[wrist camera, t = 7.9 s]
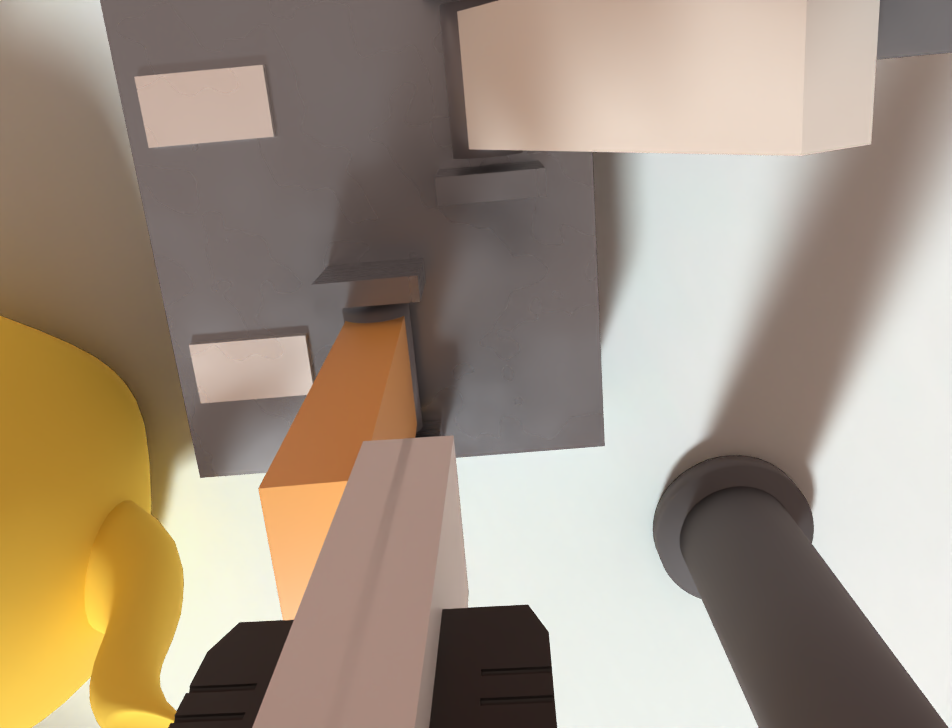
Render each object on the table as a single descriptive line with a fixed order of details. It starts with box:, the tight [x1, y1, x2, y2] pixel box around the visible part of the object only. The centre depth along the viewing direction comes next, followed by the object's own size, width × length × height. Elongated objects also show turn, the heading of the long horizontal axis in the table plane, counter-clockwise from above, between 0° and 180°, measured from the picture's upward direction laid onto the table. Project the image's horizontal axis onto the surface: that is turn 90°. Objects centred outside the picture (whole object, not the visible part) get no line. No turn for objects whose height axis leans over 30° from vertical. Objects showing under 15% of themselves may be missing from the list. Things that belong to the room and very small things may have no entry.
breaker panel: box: [100, 0, 605, 478], centre depth 21 cm, size 11×12×6 cm
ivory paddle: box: [439, 0, 880, 159], centre depth 15 cm, size 2×3×10 cm, turn 4°
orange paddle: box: [258, 303, 423, 620], centre depth 16 cm, size 2×3×10 cm, turn 5°
